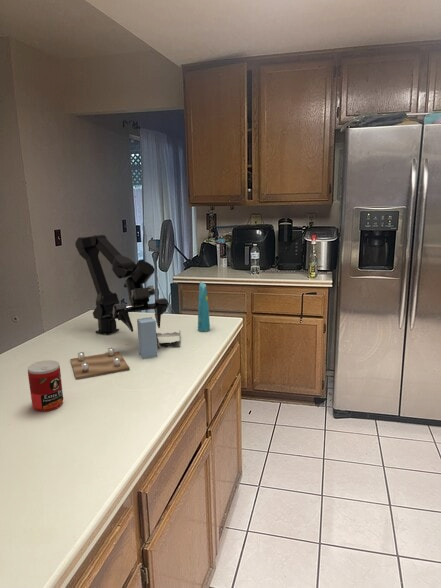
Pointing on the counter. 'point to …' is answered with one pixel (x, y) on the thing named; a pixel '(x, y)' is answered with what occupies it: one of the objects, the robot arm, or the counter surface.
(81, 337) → the counter surface
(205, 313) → the tube
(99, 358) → the peg stand
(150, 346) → the slate blue block
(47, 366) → the canned food
